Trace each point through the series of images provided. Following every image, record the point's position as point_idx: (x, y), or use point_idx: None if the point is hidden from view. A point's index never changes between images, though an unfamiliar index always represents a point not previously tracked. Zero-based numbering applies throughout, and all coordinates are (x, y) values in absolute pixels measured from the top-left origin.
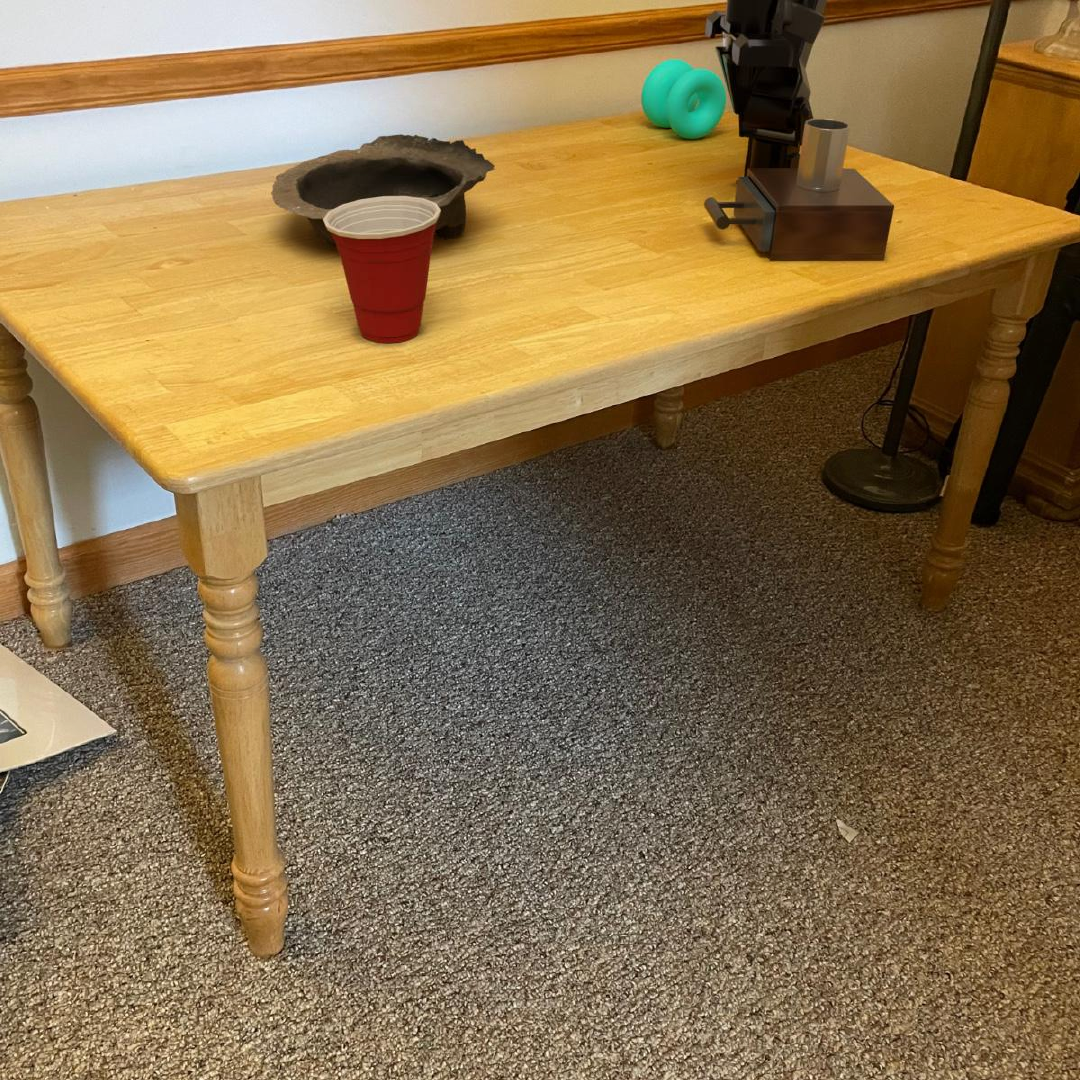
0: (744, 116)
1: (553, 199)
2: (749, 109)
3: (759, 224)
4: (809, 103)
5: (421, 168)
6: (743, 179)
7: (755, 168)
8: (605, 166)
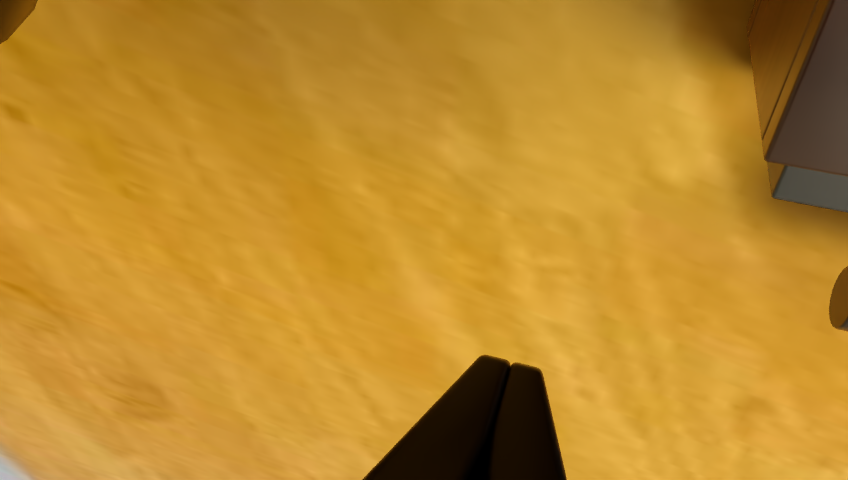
0: (31, 4)
1: None
2: (7, 9)
3: None
4: None
5: None
6: (845, 194)
7: (796, 119)
8: (85, 250)
